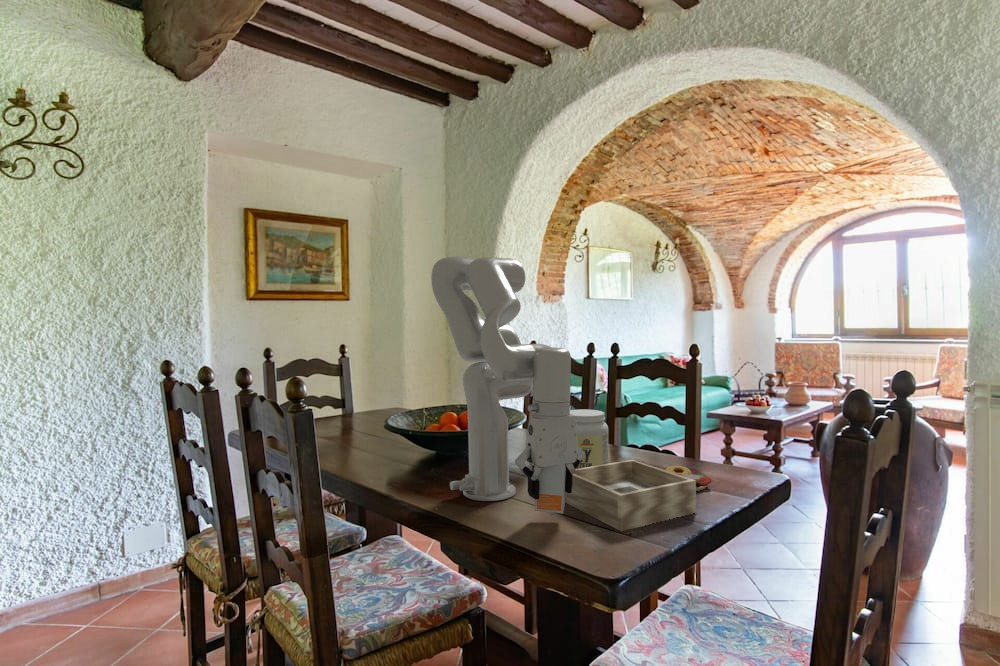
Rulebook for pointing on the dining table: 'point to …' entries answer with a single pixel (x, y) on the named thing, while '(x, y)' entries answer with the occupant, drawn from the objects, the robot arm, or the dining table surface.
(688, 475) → the toy food set
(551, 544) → the dining table surface
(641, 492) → the socket box
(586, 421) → the supplement tub
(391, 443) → the dining table surface
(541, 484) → the skincare box
